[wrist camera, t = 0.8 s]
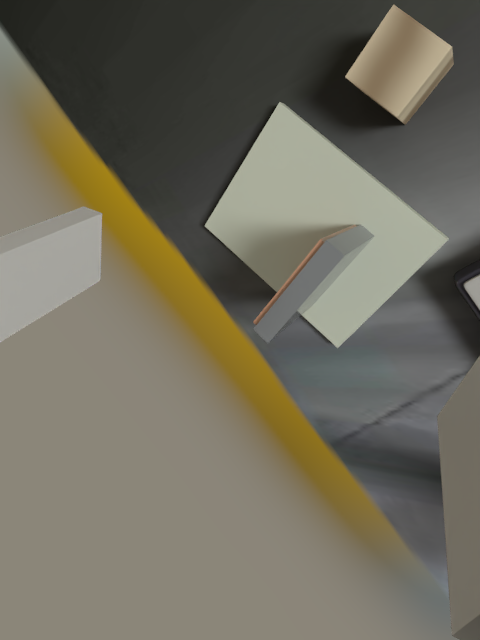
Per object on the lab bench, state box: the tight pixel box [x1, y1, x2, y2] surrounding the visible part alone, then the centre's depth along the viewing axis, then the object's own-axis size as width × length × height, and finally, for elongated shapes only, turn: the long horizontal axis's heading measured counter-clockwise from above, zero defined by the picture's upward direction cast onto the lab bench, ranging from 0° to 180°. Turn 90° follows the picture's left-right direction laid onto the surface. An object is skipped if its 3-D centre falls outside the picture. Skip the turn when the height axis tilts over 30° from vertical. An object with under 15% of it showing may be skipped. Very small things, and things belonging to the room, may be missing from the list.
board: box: [205, 102, 449, 348], centre depth 39 cm, size 19×14×1 cm
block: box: [345, 5, 454, 125], centre depth 31 cm, size 5×5×5 cm
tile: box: [253, 225, 374, 343], centre depth 34 cm, size 2×9×11 cm, turn 144°
